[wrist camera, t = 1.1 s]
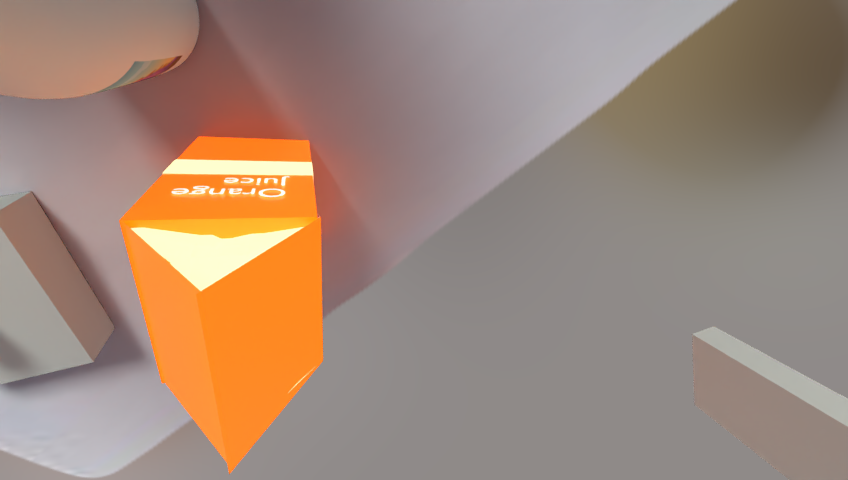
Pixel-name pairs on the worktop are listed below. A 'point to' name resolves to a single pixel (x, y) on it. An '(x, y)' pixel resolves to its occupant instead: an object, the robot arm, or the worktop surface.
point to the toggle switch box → (42, 297)
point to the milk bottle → (90, 44)
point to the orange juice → (231, 282)
